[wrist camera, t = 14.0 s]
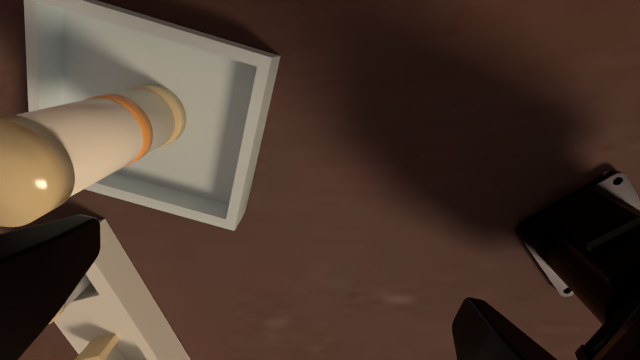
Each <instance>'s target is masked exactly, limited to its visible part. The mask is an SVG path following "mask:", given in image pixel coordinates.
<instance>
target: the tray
mask: <svg viewBox="0 0 640 360" xmlns="http://www.w3.org/2000/svg"><path fill="white" fill-rule="evenodd" d="M24 17H25V40H26V63H27V87H28V110H29V112H31V111H36V110H40V109H45V108H49V107H54V106H59V105H63V104H68V103H72V102H77V101H82V100H86V99H88V98H91V97H94V96H99V95H104V94H114V93H119V92H123V91H126V90H127V89H129V88H132V87H137V86H142V85H147V84H157V85H161V86H163V87H166V88H167V89H169V90H171V91H172V92H173V93H174V94H175V95H176V96H177V97H178V98H179V99H180V101H181V103H182V104H183V107H184V109H185V113H186V126H185V129H184V131H183V133H182V134H181V136H180V137H179V138H177V139H176V140H174V141H173V142H171V143H169V144H167V145H166V146H164V147H161V148H158V149H155V150H153V151H151V152H149V153H147V154H146V155H145V156H144V157H142V158H141V159H139V160H137V161H135V162H134V163H132V164H130V165H128V166H124V167H122V168H121V169H119V170H117V171H115V172H113V173H112V174H110V175H108V176H106V177H105V178H103V179H101V180H99V181H97V182H96V183H94V184H92V185H90V186H88V187H87V188H85V189H86V190H89V191H93V192H97V193H100V194H104V195H107V196H111V197H115V198H118V199H122V200H125V201H129V202H132V203H136V204H140V205H143V206H147V207H150V208H154V209H158V210H161V211H165V212H168V213H172V214H176V215H179V216H183V217H186V218H190V219H193V220H197V221H201V222H204V223H208V224H211V225H215V226H219V227H222V228H226V229H229V230H233V231H234V230H235V229H236V227H237V225H238V224H239V222H240V220H241V218H242V217H243V215H244V213H245V212H246V207H247V203H248V198H249V194H250V189H251V185H252V181H253V176H254V172H255V167H256V163H257V158H258V154H259V150H260V145H261V141H262V136H263V132H264V127H265V123H266V119H267V114H268V110H269V105H270V101H271V96H272V92H273V88H274V83H275V79H276V74H277V70H278V65H279V61H280V56H279V55H276V54H272V53H269V52H266V51H262V50H259V49H256V48H252V47H249V46H246V45H243V44H239V43H236V42H233V41H229V40H226V39H223V38H220V37H216V36H213V35H210V34H206V33H203V32H200V31H196V30H193V29H190V28H187V27H183V26H180V25H177V24H173V23H170V22H167V21H163V20H160V19H157V18H154V17H150V16H147V15H144V14H140V13H137V12H134V11H130V10H127V9H124V8H121V7H117V6H114V5H111V4H107V3H104V2H101V1H97V0H24Z"/></svg>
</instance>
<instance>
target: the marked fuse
mask: <svg viewBox="0 0 640 360" xmlns="http://www.w3.org/2000/svg"><path fill="white" fill-rule="evenodd" d="M185 126H186V113H185V109H184V107H183V104H182V103H181V101H180V99H179V98H178V97H177V96H176V95H175V94H174V93H173V92H172V91H171V90H169V89H167V88H166V87H163V86H161V85H157V84H147V85H142V86H137V87H132V88H129V89H127V90H126V91H123V92H119V93H114V94H104V95H99V96H94V97H91V98H88V99H86V100H82V101H77V102H72V103H68V104H63V105H59V106H54V107H49V108H45V109H40V110H36V111H31V112H26V113H22V114H17V115H12V114H3V115H0V226H4V227H18V226H23V225H26V224H28V223H31V222H32V221H34V220H36V219H38V218H39V217H41V216H43V215H45V214H47V213H48V212H50V211H52V210H54V209H55V208H57V207H59V206H60V205H62V204H63V203H65V202H66V201H67V200H68V198H69V197H71V196H72V195H74V194H76V193H78V192H79V191H81V190H83V189H85V188H87V187H88V186H90V185H92V184H94V183H96V182H97V181H99V180H101V179H103V178H105V177H106V176H108V175H110V174H112V173H113V172H115V171H117V170H119V169H121V168H122V167H124V166H128V165H130V164H132V163H134V162H135V161H137V160H139V159H141V158H142V157H144V156H145V155H146V154H147V153H149V152H151V151H153V150H155V149H158V148H161V147H164V146H166V145H167V144H169V143H171V142H173V141H174V140H176V139H177V138H179V137H180V136H181V134H182V133H183V131H184V129H185Z"/></svg>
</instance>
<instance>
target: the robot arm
mask: <svg viewBox="0 0 640 360" xmlns="http://www.w3.org/2000/svg"><path fill="white" fill-rule="evenodd" d="M617 177H618V179H617V180H616V181H615V182H613V181H614V179H615V178H617ZM527 228H528V230H527V231H526V232H523V230H524V229H527ZM516 233H517V234H518V236H519V237H520V239H521V240H522V242H523V243H524V244H525V246H526V247H527V249H528V250H529V252H530V253H531V254H532V256H533V257H534V259H535V260H536V262H537V263H538V264H539V266H540V267H541V269H542V270H543V272H544V273H545V274H546V276H547V277H548V279H549V280H550V282H551V283H552V284H553V286H554V287H555V289H556V290H557V291H558V292H559V294H560V295H561V296H564V297H568V296H571V295H573V294H575V295H576V296H577V297H578V298H579V299H580V300H581V301H582V302H583V303H584V305H585V306H586V307H587V308H588V309H589V310H590V311H591V312H592V313H593V314H594V315H595V317H596V318H597V319H598V320H599V321H600V322H601V323H602V324H603V325H602V326H601V327H600V329H599V330H598V331H597V332H596V333H595V334H594V335H593V336H592V338H591V339H590V340H589V341H588V342H587V343H586V344H585V345H581V346H580V347H579V348H578V349H577V351H576V352H575V354H576V357H577V359H578V360H640V199H639V197H638V195H637V194H636V192H635V190H634V188H633V186H632V184H631V183H630V181H629V179H628V177H627V176H626V175H625V174H624V173H621V172H619V171H611V172H609V173H607V174H605V175H604V176H602V177H600V178H598V179H597V180H595V181H593V182H591V183H590V184H588V185H586V186H584V187H582V188H580V189H579V190H577V191H575V192H573V193H572V194H570V195H568V196H566V197H565V198H563V199H561V200H559V201H558V202H556V203H554V204H552V205H551V206H549V207H547V208H546V209H544V210H542V211H540V212H539V213H537V214H535V215H533V216H532V217H530V218H528V219H526V220H525V221H523V222H521V223H520V224H518V225H517V227H516ZM100 247H101V244H100V221H99V220H98V219H97V218H95V217H91V216H86V215H81V214H79V215H74V216H70V217H66V218H62V219H58V220H54V221H50V222H46V223H42V224H38V225H35V226H31V227H27V228H23V229H19V230H15V231H11V232H7V233H3V234H0V360H18V359H19V357H20V356H21V355H22V354H23V353H24V352H25V351H26V349H27V348H28V347H29V346H30V345H31V344H32V342H33V341H34V340H35V339H36V338H37V337H38V336H39V334H40V333H41V332H42V331H43V330H44V329H45V327H46V326H47V325H48V324H49V323H50V322H51V320H52V319H53V318H54V317H55V316H56V314H57V313H58V312H59V310H60V309H61V308H62V306H63V305H64V304H65V302H66V301H67V300H68V298H69V297H70V295H71V294H72V292H73V291H74V290H75V288H76V287H77V285H78V284H79V283H80V281H81V280H82V278H83V277H84V275H85V274H86V273H87V271H88V270H89V268H90V267H91V266H92V264H93V263H94V261H95V260H96V258H97V257H98V255H99V252H100ZM565 288H567V289H565ZM564 289H565V290H564ZM452 333H453V338H454V344H455V349H456V355H457V360H557V359H556V358H554V357H553V356H552V355H551V354H549V353H548V352H547V351H546V350H545V349H543V348H542V347H541V346H540V345H538V344H537V343H536V342H535V341H533V340H532V339H531V338H530V337H528V336H527V335H526V334H525V333H524V332H522V331H521V330H520V329H519V328H517V327H516V326H515V325H514V324H512V323H511V322H510V321H509V320H508V319H506V318H505V317H504V316H503V315H501V314H500V313H499V312H498V311H496V310H495V309H494V308H493V307H491V306H490V305H489V304H488V303H487V302H485V301H483V300H480V299H475V298H471V297H468V298H466V299H465V300H464V301H463V303H462V305H461V307H460V309H459V311H458V313H457V315H456V317H455V319H454V321H453V324H452Z"/></svg>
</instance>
